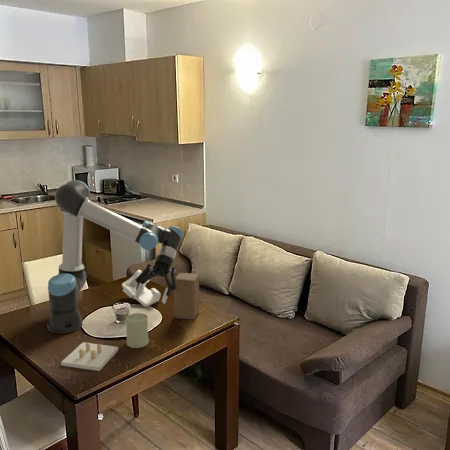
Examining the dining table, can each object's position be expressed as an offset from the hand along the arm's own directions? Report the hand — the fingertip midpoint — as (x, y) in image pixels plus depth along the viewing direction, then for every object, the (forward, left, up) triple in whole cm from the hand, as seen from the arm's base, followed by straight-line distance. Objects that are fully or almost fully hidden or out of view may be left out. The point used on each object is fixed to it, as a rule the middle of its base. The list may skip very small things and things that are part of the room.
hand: (149, 300), depth 202 cm
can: (-2, -10, -15) cm, 19 cm away
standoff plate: (-15, -26, -15) cm, 34 cm away
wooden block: (+10, +21, -15) cm, 28 cm away
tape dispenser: (-18, +32, -15) cm, 39 cm away
